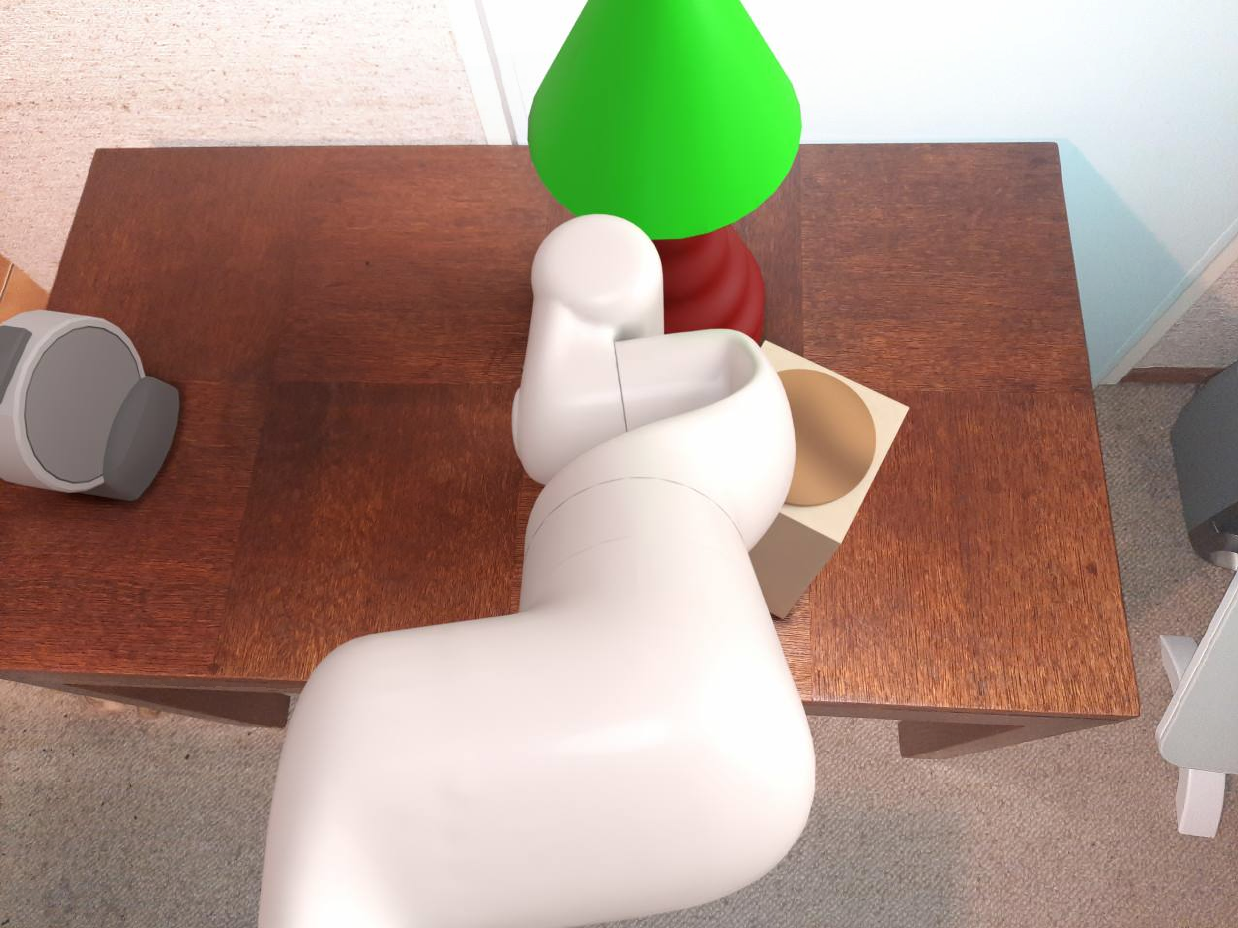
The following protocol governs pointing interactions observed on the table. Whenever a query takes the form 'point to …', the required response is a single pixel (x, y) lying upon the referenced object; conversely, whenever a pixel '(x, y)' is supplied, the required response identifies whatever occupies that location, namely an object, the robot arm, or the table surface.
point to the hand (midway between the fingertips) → (623, 446)
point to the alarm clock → (80, 407)
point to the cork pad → (827, 437)
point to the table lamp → (672, 142)
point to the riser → (815, 531)
